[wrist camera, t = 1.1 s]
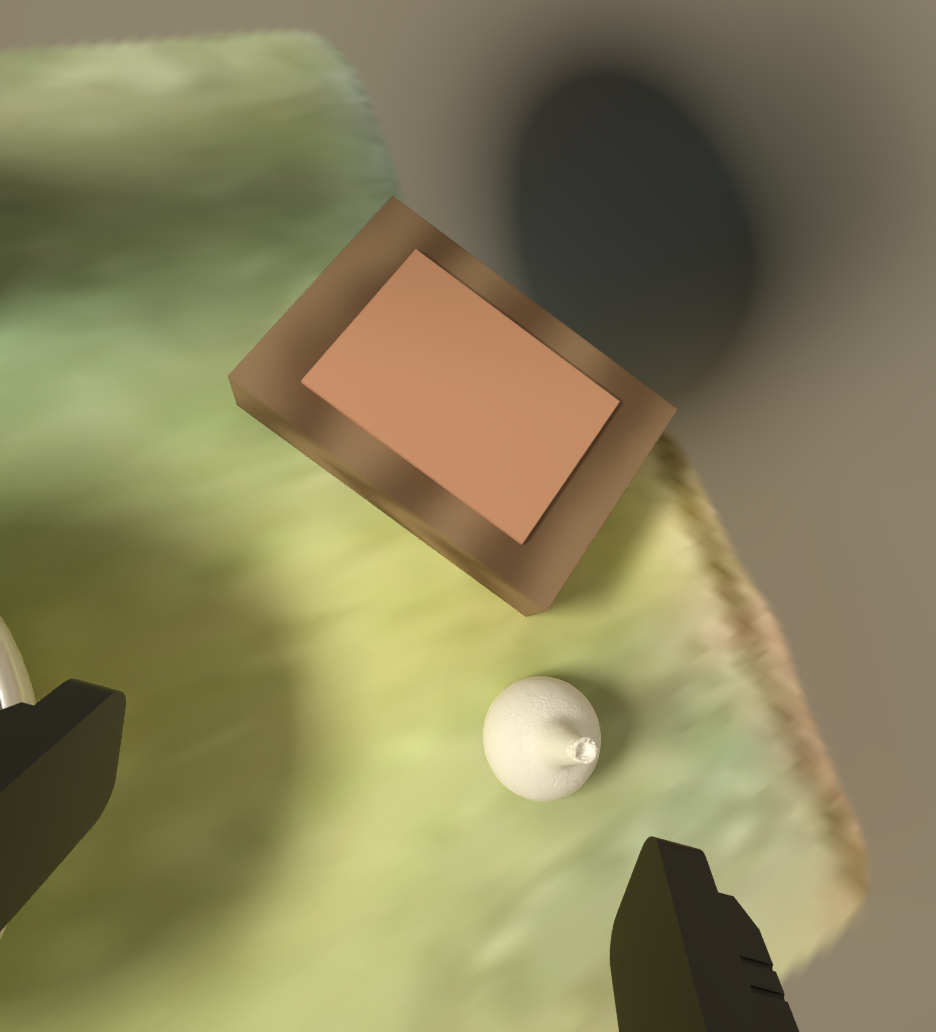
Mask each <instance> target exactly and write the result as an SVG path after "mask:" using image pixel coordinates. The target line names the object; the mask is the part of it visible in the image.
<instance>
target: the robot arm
mask: <svg viewBox="0 0 936 1032" xmlns="http://www.w3.org/2000/svg"><path fill="white" fill-rule="evenodd" d="M125 707H126V698H125V695H124V693H123V692H121V691H118V690H114V689H110V688H106V687H103V686H99V685H95V684H92V683H88V682H84V681H81V680H77V679H69V680H67V681H66V682H64V683H63V684H61V685H60V686H59V687H57V688H56V689H55V690H53V691H52V692H51V693H49V694H48V695H47V696H46V697H44V698H43V699H42V700H40V701H39V702H38V703H36V704H35V705H30V704H27V703H23V702H20V703H18V704H15V705H12V706H10V707H7V708H4V709H2V710H0V932H1V931H2V929H3V928H4V927H5V926H6V925H7V924H8V923H9V921H10V920H11V919H12V918H13V917H14V916H15V915H16V913H17V912H18V911H19V910H20V909H21V908H22V907H23V905H24V904H25V903H26V902H27V901H28V900H29V899H30V897H31V896H32V895H33V894H34V893H35V892H36V890H37V889H38V888H39V887H40V886H41V885H42V884H43V882H44V881H45V880H46V879H47V878H48V877H49V876H50V874H51V873H52V872H53V871H54V870H55V869H56V868H57V866H58V865H59V864H60V863H61V862H62V861H63V860H64V858H65V857H66V856H67V855H68V854H69V853H70V851H71V850H72V849H73V848H74V847H75V846H76V845H77V843H78V842H79V841H80V840H81V839H82V838H83V837H84V835H85V834H86V833H87V832H88V831H89V830H90V829H91V827H92V826H93V825H94V824H95V823H96V821H97V820H98V818H99V817H100V815H101V814H102V812H103V810H104V809H105V807H106V805H107V803H108V800H109V798H110V796H111V793H112V790H113V787H114V783H115V779H116V772H117V765H118V758H119V751H120V744H121V736H122V729H123V722H124V715H125ZM610 967H611V975H612V983H613V990H614V997H615V1005H616V1012H617V1020H618V1027H619V1032H799V1030H798V1027H797V1025H796V1022H795V1020H794V1017H793V1015H792V1012H791V1009H790V1007H789V1004H788V1002H786V1001H784V991H783V989H782V986H781V984H780V981H779V979H778V976H777V974H776V972H775V971H773V970H772V967H773V963H772V961H771V958H770V956H769V953H768V951H767V948H766V945H765V943H764V940H763V938H762V935H761V933H760V930H759V929H758V927H757V926H756V925H755V923H754V922H753V921H752V920H751V918H750V917H749V916H748V914H747V913H746V912H745V911H744V909H743V908H742V907H741V905H740V904H739V903H738V901H737V900H736V899H735V898H734V896H730V895H726V894H723V893H719V892H718V891H717V888H716V885H715V882H714V879H713V876H712V873H711V870H710V868H709V865H708V862H707V859H706V856H705V854H704V853H703V851H702V850H700V849H697V848H693V847H690V846H686V845H682V844H678V843H675V842H671V841H667V840H664V839H660V838H656V837H652V836H651V837H649V838H647V840H646V841H645V843H644V844H643V847H642V849H641V851H640V854H639V857H638V859H637V862H636V865H635V867H634V870H633V873H632V875H631V878H630V880H629V883H628V886H627V888H626V891H625V894H624V896H623V899H622V901H621V904H620V907H619V909H618V912H617V915H616V918H615V921H614V925H613V929H612V935H611V943H610Z"/></svg>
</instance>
